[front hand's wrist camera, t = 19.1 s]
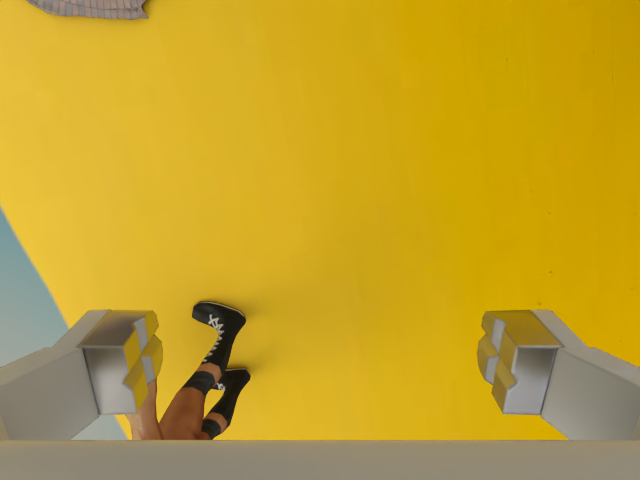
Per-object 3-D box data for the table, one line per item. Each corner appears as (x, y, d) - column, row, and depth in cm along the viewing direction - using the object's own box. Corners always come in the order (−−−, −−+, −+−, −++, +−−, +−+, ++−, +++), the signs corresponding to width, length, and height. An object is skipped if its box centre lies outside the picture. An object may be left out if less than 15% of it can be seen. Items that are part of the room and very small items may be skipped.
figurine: (180, 248, 43) (-69, 559, 16) (241, 247, 43) (99, 559, 16) (205, 426, 52) (75, 825, 25) (256, 426, 52) (182, 825, 25)
